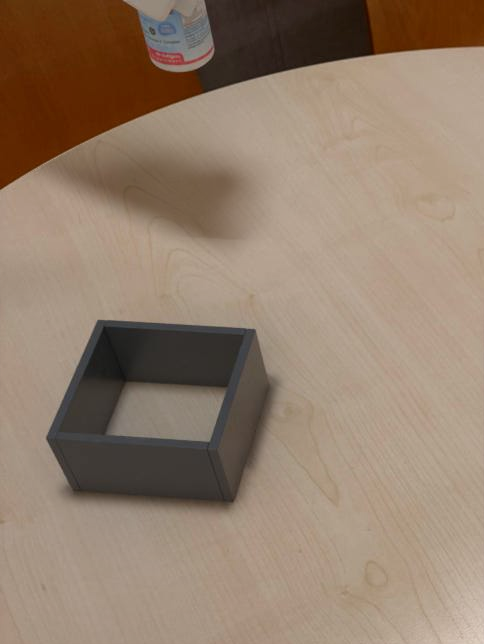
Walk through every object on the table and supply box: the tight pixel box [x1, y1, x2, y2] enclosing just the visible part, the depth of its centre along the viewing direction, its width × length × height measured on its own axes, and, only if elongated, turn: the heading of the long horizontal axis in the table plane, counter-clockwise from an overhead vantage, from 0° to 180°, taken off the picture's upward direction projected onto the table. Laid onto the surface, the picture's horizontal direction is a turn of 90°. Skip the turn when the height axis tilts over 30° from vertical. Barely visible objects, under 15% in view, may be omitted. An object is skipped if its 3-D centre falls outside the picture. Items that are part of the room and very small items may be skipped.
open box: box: [45, 319, 270, 503], centre depth 88 cm, size 14×14×8 cm
